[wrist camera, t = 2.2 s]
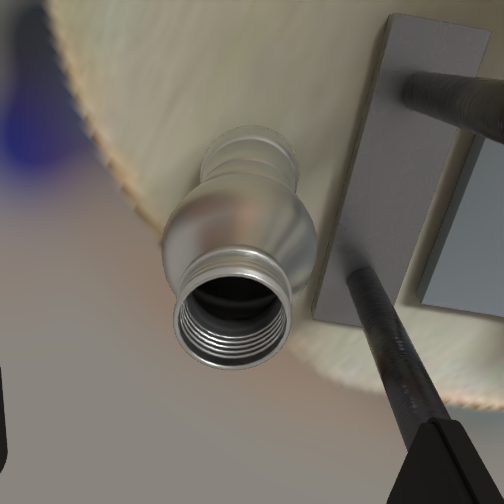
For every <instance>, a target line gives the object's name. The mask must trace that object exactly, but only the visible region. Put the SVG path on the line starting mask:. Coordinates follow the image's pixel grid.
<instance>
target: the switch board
mask: <svg viewBox="0 0 504 504" xmlns="http://www.w3.org/2000/svg"><path fill="white" fill-rule="evenodd" d="M416 296H417V297H418V299H419V300H420V302H421V304H426V305H433V306H439V307H445V308H452V309H458V310H464V311H470V312H477V313H483V314H489V315H495V316H502V317H504V145H503V144H500V143H498V142H495V141H492V140H490V139H487V138H484V137H482V136H479V135H477V134H476V135H475V137H474V140H473V143H472V145H471V148H470V150H469V153H468V156H467V158H466V161H465V164H464V166H463V169H462V172H461V174H460V177H459V180H458V182H457V185H456V188H455V190H454V193H453V196H452V198H451V201H450V204H449V206H448V209H447V212H446V214H445V217H444V220H443V222H442V225H441V228H440V230H439V233H438V236H437V238H436V241H435V244H434V246H433V249H432V252H431V254H430V257H429V260H428V262H427V265H426V268H425V270H424V273H423V276H422V278H421V281H420V283H419V286H418V289H417V291H416Z"/></svg>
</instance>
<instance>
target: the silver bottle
mask: <svg viewBox="0 0 504 504" xmlns="http://www.w3.org/2000/svg"><path fill="white" fill-rule="evenodd" d="M298 180H299V164H298V160H297V157H296V154H295V152H294V150H293V149H292V147H291V145H290V144H289V143H288V142H287V141H286V140H285V139H284V138H283V137H282V136H280V135H279V134H278V133H276V132H274V131H272V130H270V129H268V128H263V127H259V126H244V127H238V128H235V129H233V130H230V131H228V132H226V133H225V134H223V135H221V136H220V137H219V138H218V139H217V140H215V141H214V142H213V143H212V145H211V146H210V147H209V149H208V150H207V152H206V154H205V156H204V158H203V161H202V165H201V170H200V185H198V186H197V187H196V188H194V189H193V190H192V191H191V192H190V193H189V194H188V195H187V196H186V197H184V198H183V200H182V201H181V202H180V203H179V205H178V206H177V207H176V209H175V210H174V211H173V213H172V214H171V216H170V218H169V220H168V222H167V224H166V227H165V229H164V234H163V238H162V261H163V267H164V271H165V276H166V279H167V281H168V283H169V285H170V287H171V290H172V291H173V292H174V294H175V295H176V296H177V301H176V304H175V308H174V313H173V317H174V318H173V323H174V330H175V335H176V337H177V339H178V341H179V343H180V345H181V346H182V348H183V349H184V350H185V351H186V352H187V353H188V354H189V355H190V356H191V357H192V358H194V359H195V360H197V361H199V362H200V363H202V364H204V365H207V366H210V367H213V368H217V369H222V370H241V369H247V368H251V367H255V366H257V365H260V364H262V363H264V362H266V361H267V360H269V359H270V358H271V357H273V356H274V355H275V354H276V353H277V352H278V351H279V350H280V349H281V348H282V347H283V345H284V343H285V342H286V340H287V338H288V335H289V333H290V328H291V322H292V312H291V306H292V303H293V302H294V301H295V300H296V299H297V298H298V297H299V296H300V294H301V293H302V291H303V289H304V288H305V286H306V285H307V283H308V280H309V278H310V276H311V273H312V271H313V268H314V265H315V263H316V256H317V249H318V248H317V235H316V231H315V228H314V225H313V221H312V219H311V217H310V215H309V213H308V211H307V210H306V208H305V206H304V204H303V203H302V201H301V200H300V199H299V198H298V197H297V195H296V194H295V193H296V190H297V186H298Z"/></svg>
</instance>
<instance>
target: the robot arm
mask: <svg viewBox="0 0 504 504" xmlns="http://www.w3.org/2000/svg"><path fill="white" fill-rule="evenodd" d="M7 453H8V450H7V438H6V426H5V414H4V403H3V390H2V378H1V367H0V473H1V471H2V469H3V468H4V465H5V463H6V459H7ZM387 504H504V499H503V498H502V496H501V494H500V492H499V490H498V488H497V486H496V485H495V483H494V481H493V479H492V478H491V476H490V474H489V472H488V471H487V469H486V467H485V465H484V463H483V462H482V460H481V458H480V456H479V455H478V453H477V451H476V449H475V447H474V445H473V444H472V442H471V440H470V438H469V437H468V435H467V433H466V431H465V429H464V428H463V426H462V425H461V423H460V422H458V421H456V420H451V419H443V418H436V417H431V418H429V419H428V421H427V422H426V423H421V424H420V426H419V428H418V430H417V433H416V435H415V437H414V440H413V442H412V444H411V447H410V449H409V451H408V454H407V456H406V458H405V461H404V463H403V465H402V467H401V470H400V472H399V474H398V477H397V479H396V482H395V484H394V486H393V489H392V491H391V493H390V495H389V497H388V500H387Z"/></svg>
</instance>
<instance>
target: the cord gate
mask: <svg viewBox="0 0 504 504" xmlns="http://www.w3.org/2000/svg"><path fill="white" fill-rule="evenodd" d="M491 33H492V31H488V30H483V29H477V28H472V27H467V26H462V25H457V24H451V23H446V22H441V21H436V20H431V19H425V18H420V17H415V16H410V15H405V14H400V13H393V14H390V15H389V17H388V21H387V25H386V29H385V32H384V36H383V40H382V44H381V48H380V51H379V55H378V59H377V63H376V67H375V70H374V74H373V78H372V82H371V85H370V89H369V93H368V97H367V101H366V104H365V108H364V112H363V116H362V119H361V123H360V127H359V131H358V135H357V138H356V142H355V146H354V150H353V154H352V157H351V161H350V165H349V169H348V172H347V176H346V180H345V184H344V188H343V191H342V195H341V199H340V203H339V206H338V210H337V214H336V218H335V222H334V225H333V229H332V233H331V237H330V241H329V244H328V248H327V252H326V256H325V259H324V263H323V267H322V271H321V275H320V278H319V282H318V286H317V290H316V293H315V297H314V301H313V305H312V309H311V311H312V316H313V319H316V320H323V321H329V322H335V323H342V324H348V325H355V326H361V327H362V328H363V330H364V333H365V336H366V339H367V341H368V344H369V347H370V350H371V352H372V355H373V358H374V361H375V363H376V366H377V369H378V372H379V374H380V377H381V380H382V383H383V385H384V388H385V391H386V394H387V396H388V399H389V402H390V404H391V407H392V410H393V413H394V416H395V418H396V421H397V424H398V426H399V429H400V432H401V435H402V437H403V440H404V443H405V446H406V449H407V451H409V449H410V447H411V444H412V442H413V440H414V437H415V435H416V433H417V430H418V428H419V426H420V424H421V423H426V422H427V421H428V419H429V418H431V417H436V418H443V419H451V418H450V416H449V414H448V412H447V410H446V408H445V406H444V404H443V402H442V400H441V398H440V396H439V394H438V392H437V390H436V388H435V386H434V385H433V383H432V381H431V379H430V377H429V375H428V373H427V371H426V369H425V367H424V365H423V363H422V361H421V359H420V357H419V355H418V353H417V352H416V350H415V348H414V346H413V344H412V342H411V340H410V338H409V336H408V334H407V332H406V330H405V328H404V326H403V324H402V322H401V320H400V319H399V317H398V315H397V313H396V311H395V309H394V304H395V301H396V299H397V296H398V293H399V290H400V287H401V285H402V282H403V279H404V276H405V273H406V271H407V268H408V265H409V262H410V259H411V257H412V254H413V251H414V248H415V245H416V243H417V240H418V237H419V234H420V231H421V229H422V226H423V223H424V220H425V217H426V215H427V212H428V209H429V206H430V203H431V201H432V198H433V195H434V192H435V189H436V187H437V184H438V181H439V178H440V175H441V173H442V170H443V167H444V164H445V161H446V159H447V156H448V153H449V150H450V147H451V145H452V142H453V139H454V136H455V133H456V131H457V128H461V129H463V130H466V131H469V132H471V133H474V134H477V135H479V136H482V137H484V138H487V139H490V140H492V141H495V142H498V143H500V144H503V145H504V80H497V79H488V78H479V77H476V75H477V72H478V69H479V66H480V63H481V61H482V58H483V55H484V52H485V49H486V47H487V44H488V41H489V38H490V35H491ZM451 420H452V419H451Z"/></svg>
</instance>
